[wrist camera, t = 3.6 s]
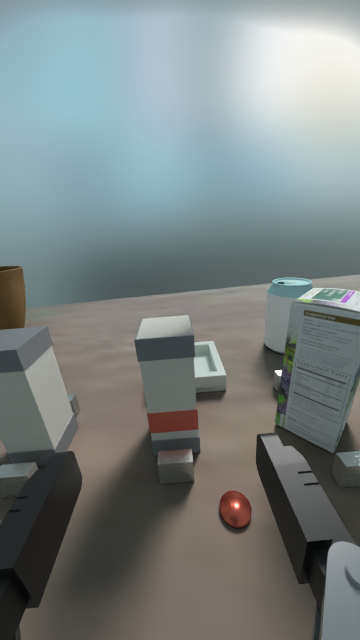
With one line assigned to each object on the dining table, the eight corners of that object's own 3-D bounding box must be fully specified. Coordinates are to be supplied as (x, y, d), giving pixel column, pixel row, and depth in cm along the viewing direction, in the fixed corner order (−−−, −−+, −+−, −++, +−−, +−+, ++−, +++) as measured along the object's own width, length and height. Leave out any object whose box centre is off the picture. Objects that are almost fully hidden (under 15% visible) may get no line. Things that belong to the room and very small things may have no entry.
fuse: (13, 468, 22) (-45, 354, 17) (39, 429, 27) (-2, 330, 22) (60, 464, 22) (16, 349, 18) (78, 426, 27) (47, 326, 22)
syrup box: (293, 397, 28) (309, 285, 23) (350, 421, 24) (384, 292, 19) (274, 424, 25) (287, 299, 20) (336, 458, 21) (375, 311, 16)
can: (285, 360, 36) (293, 288, 32) (255, 343, 42) (259, 280, 38) (315, 349, 39) (327, 281, 34) (283, 334, 45) (290, 274, 40)
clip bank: (-33, 552, 16) (-48, 532, 15) (62, 403, 31) (57, 388, 30) (400, 514, 17) (411, 492, 16) (294, 384, 31) (296, 368, 30)
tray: (153, 396, 31) (151, 381, 30) (157, 358, 40) (156, 345, 39) (226, 390, 31) (226, 375, 30) (213, 353, 40) (213, 341, 39)
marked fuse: (153, 456, 22) (134, 339, 18) (156, 419, 27) (141, 318, 22) (200, 452, 22) (193, 335, 18) (195, 416, 27) (189, 314, 22)
